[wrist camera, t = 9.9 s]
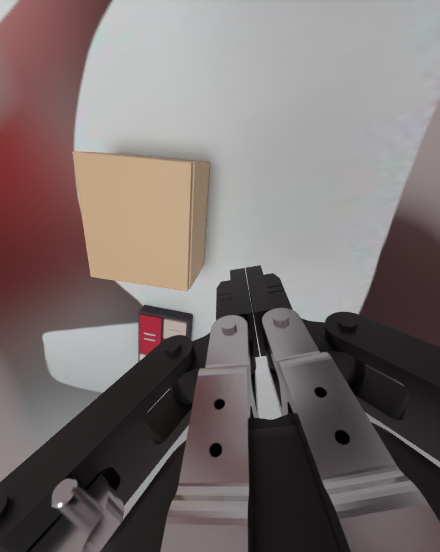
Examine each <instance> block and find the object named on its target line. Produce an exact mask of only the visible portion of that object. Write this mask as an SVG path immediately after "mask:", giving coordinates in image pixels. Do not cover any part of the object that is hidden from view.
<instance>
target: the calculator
mask: <svg viewBox="0 0 440 552" xmlns="http://www.w3.org/2000/svg"><path fill="white" fill-rule="evenodd" d="M192 319H193V315H192V314H189V313H184V312H178V311H173V310H168V309H163V308H158V307H152V306H147V305H144V306H143V307H142V308H141V310H140V311H139V361H140V360H141V359H143V358H144V357H145V356H146V355H147V354H148V353H149V352H151V351H152V350H153V349H154V348H155V347H156V346H158V345H159V344H160V343H161V342H162V341H164V340H165V339H167V338H169V337H171V336H175V335H185V336H187V337H189V338H190V339H191V331H192Z"/></svg>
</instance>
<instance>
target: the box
mask: <svg viewBox="0 0 440 552" xmlns="http://www.w3.org/2000/svg"><path fill="white" fill-rule="evenodd" d="M85 153H96V152H85ZM96 154H106V155H116V156H127V157H137V158H148V159H158V160H169V161H179V162H190V163H193V171H192V201H191V230H190V259H189V288H188V289H190V288H191V286H192V285H193V283H194V281H195V279H196V278H197V276H198V274H199V272H200V271H201V269H202V267H203V266H204V254H205V237H206V221H207V205H208V188H209V172H210V162H201V161H190V160H180V159H169V158H159V157H148V156H138V155H127V154H116V153H96Z"/></svg>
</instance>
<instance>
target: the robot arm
mask: <svg viewBox="0 0 440 552" xmlns="http://www.w3.org/2000/svg"><path fill="white" fill-rule="evenodd" d="M246 273H247V279H248V284H247V279H246V274H245V268H242V269H236V270H230V277H231V280H229V281H223V282H221V283H220V284H219V286H218V287H217V302H216V321H215V322H214V324H213V325H212V327H211V332H210V333H209V334H208V335H206V336H204V337H202V338H200V339H197V340H195V341H191V339H190V338H189V337H187V336H185V335H175V336H171V337H169V338H167V339H165V340H164V341H162V342H161V343H160V344H159V345H158V346H156V347H155V348H154V349H153V350H152V351H151V352H149V353H148V354H147V355H146V356H145V357H144V358H143V359H141V360H140V361H139V362H138V363H137V364H136V365H135V366H133V367H132V368H131V369H130V370H129V371H128V372H126V373H125V374H124V375H123V376H122V377H121V378H120V379H118V380H117V381H116V382H115V383H114V384H113V385H112V386H110V387H109V388H108V389H107V390H106V391H105V392H103V393H102V394H101V395H100V396H99V397H98V398H97V399H96V400H94V401H93V402H92V403H91V404H90V405H89V406H87V407H86V408H85V409H84V410H83V411H82V412H81V413H79V414H78V415H77V416H76V417H75V418H74V419H72V420H71V421H70V422H69V423H68V424H67V425H66V426H65V427H63V428H62V429H61V430H60V431H59V432H57V433H56V434H55V435H54V436H53V437H52V438H51V439H49V440H48V441H47V442H46V443H45V444H44V445H43V446H42V447H40V448H39V449H38V450H37V451H36V452H34V453H33V454H32V455H31V456H30V457H29V458H28V459H26V460H25V461H24V462H23V463H22V464H21V465H20V466H18V468H16V469H15V470H14V471H13V472H11V473H10V474H9V475H8V476H7V477H6V478H5V479H3V480H2V481H1V482H0V552H440V468H439V467H438V466H437V465H435V464H434V463H433V462H431V461H430V460H428V459H427V458H425V457H424V456H423V455H421V454H420V453H418V452H417V451H416V450H414V449H413V448H411V447H410V446H409V445H407V444H406V443H404V442H403V441H402V440H400V439H399V438H397V437H396V436H394V435H393V434H392V433H390V432H389V431H387V430H385V429H383V428H382V427H380V426H378V425H376V424H374V423H372V422H370V420H369V419H368V417H367V415H366V414H365V412H366V413H368V414H369V415H371V416H372V417H374V418H375V419H377V420H378V421H380V422H381V423H383V424H384V425H386V426H387V427H389V428H390V429H392V430H393V431H395V432H396V433H398V434H399V435H401V436H402V437H404V438H405V439H407V440H408V441H410V442H411V443H413V444H414V445H416V446H417V447H419V448H420V449H422V450H423V451H425V452H426V453H428V454H429V455H431V456H432V457H434V458H435V459H437V460H438V461H440V347H438V346H435V345H433V344H430V343H428V342H426V341H423V340H421V339H418V338H415V337H413V336H410V335H408V334H405V333H403V332H400V331H398V330H395V329H393V328H390V327H388V326H385V325H382V324H380V323H378V322H375V321H373V320H370V319H368V318H365V317H363V316H360V315H358V314H355V313H351V312H337V313H334V314H331V315H330V316H328V317H327V319H326V320H325V323H324V322H312V321H307V320H304V319H302V318H300V316H299V315H298V313H296V312H295V311H293V310H292V307H291V305H290V302H289V300H288V297H287V295H286V293H285V291H284V288H283V286H282V283H281V280H280V278H279V277H277V276H276V275H275V274H273V273H272V274H266V275H263V272H262V269H261V266H260V265H259V266H253V267H247V268H246ZM248 286H249V290H248ZM249 292H250V295H249ZM250 298H251V301H250ZM251 304H252V306H251ZM252 310H253V312H252ZM253 315H254V318H253ZM254 321H255V324H254ZM255 326H256V331H257V337H258V342H259V348H260V353H261V356H266V357H267V362H268V369H269V374H270V377H271V381H272V384H273V387H274V391H275V394H276V397H277V401H278V404H279V407H280V411H281V414H282V417H279V418H277V419H274V420H267V419H261V418H259V416H258V400H257V383H256V372H255V370H256V361H255V357H259V350H258V344H257V337H256V331H255ZM366 364H367V365H369V366H371V367H373V368H375V369H377V370H379V371H381V372H382V373H384V374H386V375H388V376H390V377H392V378H394V379H396V380H397V381H399V382H401V383H402V384H403V385H404V386H405V387H404V386H402V385H400V384H398V383H397V382H395V381H393V380H391V379H389V378H387V377H385V376H384V375H382V374H380V373H378V372H376V371H374V370H372V369H370V368H369V367H367V366H366ZM168 389H170V390H169V391H168V392H167V393H166V391H167V390H168ZM165 393H166V394H165ZM164 394H165V395H164ZM163 395H164V396H163ZM162 396H163V397H162ZM161 397H162V398H161ZM160 398H161V399H160ZM159 399H160V400H159ZM158 400H159V401H158ZM157 401H158V402H157ZM156 402H157V403H156ZM155 403H156V404H155ZM154 404H155V405H154ZM153 405H154V406H153ZM152 406H153V408H152V409H151V410H150V411H149V409H150V408H151V407H152ZM148 411H149V412H148ZM364 411H365V412H364ZM147 412H148V413H147ZM188 425H189V428H188V434H187V439H186V441H184V442H183V443H182V444H181V445H180V446H179V447H178V448H177V449H176V450H175V451H174V452H173V453H172V455H171V456H170V457H169V458H168V460H167V461H166V463H165V464H164V465H163V467H162V468H161V469H160V471H159V472H158V473H157V475H156V476H155V477H154V479H153V480H152V482H151V483H150V484H149V486H148V487H147V488H146V490H145V491H144V493H143V494H142V495H141V496H140V498H139V499H138V501H137V502H136V503H135V505H134V506H133V507H132V509H131V510H130V512H129V513H128V514H127V515H126V517H125V518H124V520H123V515H124V505H125V504H126V503H127V501H128V500H129V499H130V498H131V496H132V495H133V494H134V493H135V491H136V490H137V489H138V488H139V486H140V485H141V484H142V483H143V481H144V480H145V479H146V478H147V476H148V475H149V474H150V473H151V471H152V470H153V469H154V468H155V466H156V465H157V464H158V462H159V461H160V460H161V459H162V458H163V456H164V455H165V454H166V452H167V451H168V450H169V448H170V447H171V446H172V445H173V444H174V442H175V441H176V440H177V439H178V437H179V436H180V435H181V433H182V432H183V431H184V430H185V428H186V427H187V426H188ZM122 520H123V521H122Z"/></svg>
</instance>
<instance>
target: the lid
mask: <svg viewBox="0 0 440 552" xmlns="http://www.w3.org/2000/svg"><path fill="white" fill-rule="evenodd" d="M73 159H74V166H75V173H76V179H77V186H78V193H79V200H80V206H81V213H82V220H83V227H84V232H85V240H86V247H87V253H88V260H89V267H90V274H91V277H96V278H103V279H109V280H116V281H122V282H129V283H136V284H142V285H149V286H155V287H162V288H169V289H175V290H182V291H188V288H189V259H190V230H191V201H192V171H193V163H190V162H179V161H169V160H158V159H148V158H137V157H127V156H116V155H106V154H96V153H85V152H73Z"/></svg>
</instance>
